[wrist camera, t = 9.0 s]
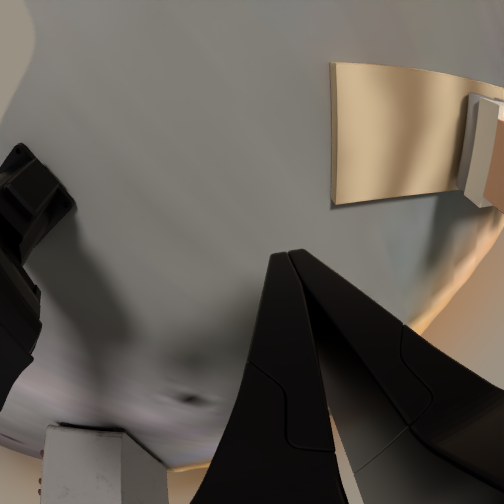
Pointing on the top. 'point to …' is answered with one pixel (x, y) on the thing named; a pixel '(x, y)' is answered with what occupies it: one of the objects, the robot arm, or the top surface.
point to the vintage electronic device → (99, 469)
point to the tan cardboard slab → (397, 130)
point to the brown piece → (483, 152)
